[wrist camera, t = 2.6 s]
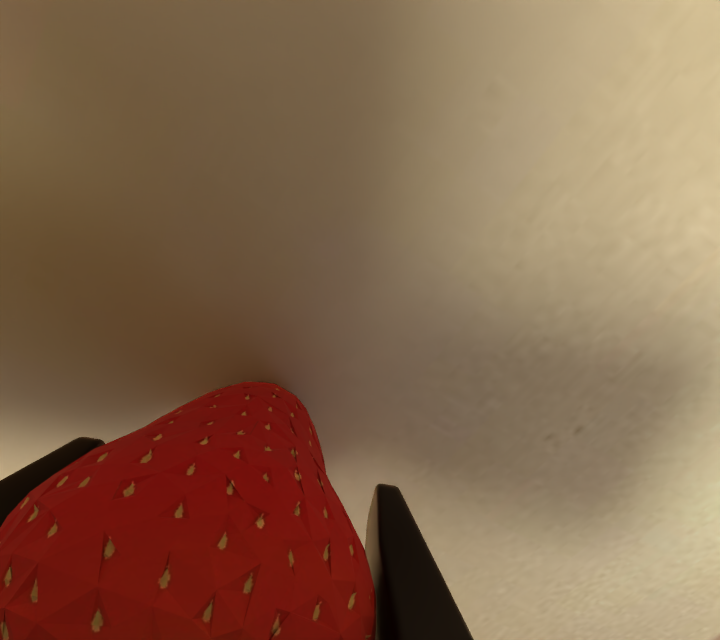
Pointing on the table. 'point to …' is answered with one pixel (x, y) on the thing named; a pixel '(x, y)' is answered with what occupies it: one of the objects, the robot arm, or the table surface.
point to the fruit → (191, 534)
